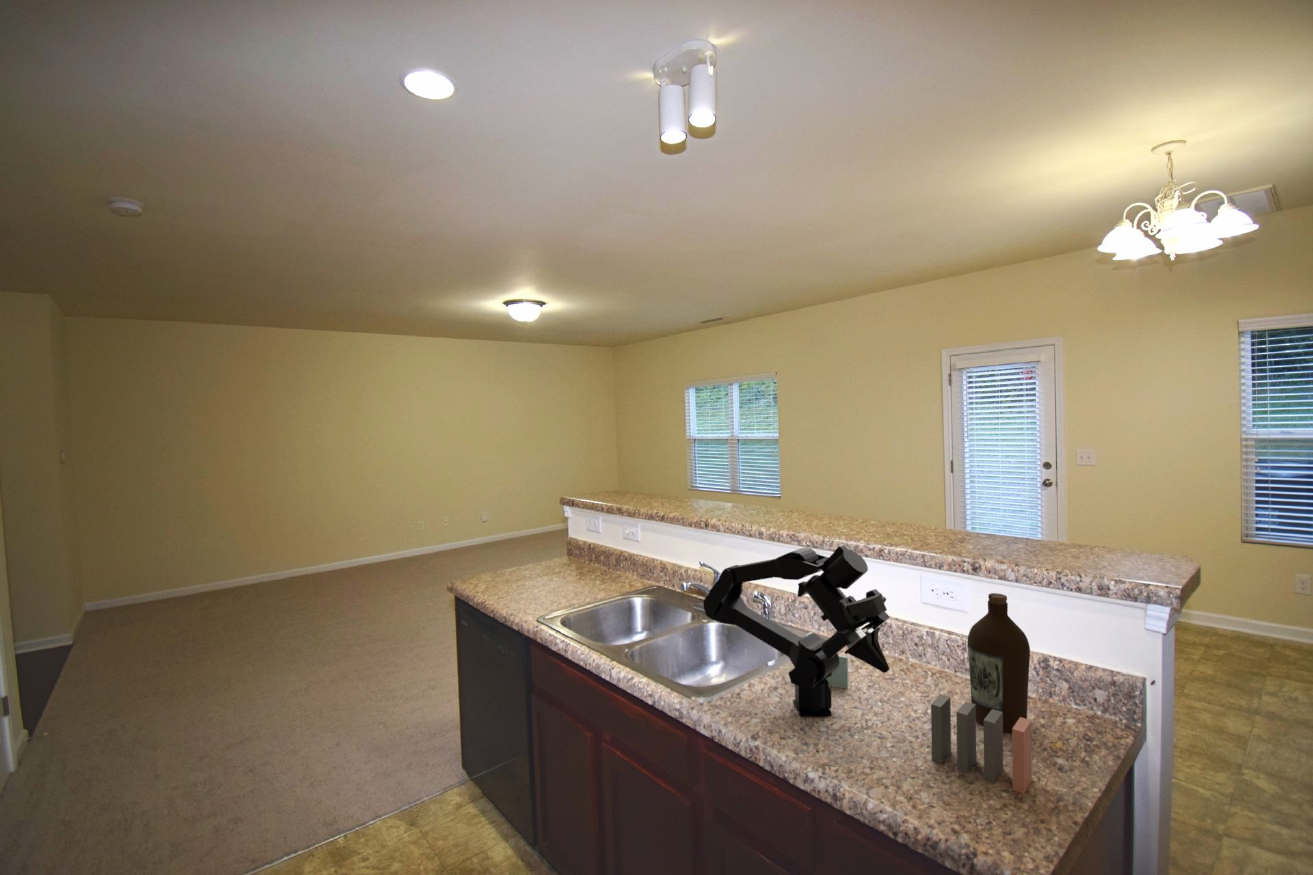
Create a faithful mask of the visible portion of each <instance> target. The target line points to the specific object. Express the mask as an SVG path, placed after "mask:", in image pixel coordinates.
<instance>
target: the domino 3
mask: <svg viewBox="0 0 1313 875" xmlns="http://www.w3.org/2000/svg"><path fill="white" fill-rule="evenodd" d="M1003 771H1004V732H1003V712H1001V711H997V710H994V709H992V710H991V711H990V713H989V714H988V715H987V716H986V718H985V719H984V726H983V777H984V778H983V780H985V781H988V782H990V783H992V784H996V782H997V781H998V780H999V777H1000V776H1001V774H1002V773H1003Z"/></svg>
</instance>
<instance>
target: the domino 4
mask: <svg viewBox="0 0 1313 875" xmlns="http://www.w3.org/2000/svg"><path fill="white" fill-rule="evenodd" d="M1011 735H1012V738H1011V739H1012V740H1011V741H1012V743H1011V744H1012V791H1015V792H1017V793H1020V794H1023V795H1025V794H1026V792H1027V790H1028V788H1029V787H1030V786H1029V785H1030V784H1031V782H1032V779H1033V776H1032V775H1033V774H1032V773H1033V771H1032V770H1033V768H1032V761H1033V760H1032V758H1033V757H1032V720H1031V719H1029V718H1027V719H1025V718H1022V717H1020V718H1019V720H1018V721H1017V723H1016V724H1015V726H1014V727H1013V729H1012V733H1011Z"/></svg>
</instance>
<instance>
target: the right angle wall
mask: <svg viewBox="0 0 1313 875" xmlns="http://www.w3.org/2000/svg"><path fill="white" fill-rule="evenodd" d="M811 633H814V632H813V631H812V632H811V631H809V632H808V633H807V634H806V635H805V636H804V637H806V636H808V635H809V634H811ZM838 656H839V666H838V668H837V669H836V670H834V671H833V672H832V675H831V676H830V677H828V678H826V679H827V681H828V684H829V686H831V687H832V686H833V687H836V688H841V689H846V690H847V689H849V658H848V656H847V655H841V654H838Z"/></svg>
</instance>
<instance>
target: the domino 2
mask: <svg viewBox="0 0 1313 875" xmlns="http://www.w3.org/2000/svg"><path fill="white" fill-rule="evenodd" d="M976 762H977V722H976V704H973V703H971V701H970V702H969V701H965V702H964V703H963V704H962V705H961V706H960V707H959V708H958V710H957V711H956V763H957V764H956V770H957V771H960V772H964V773H966V774H968V773H969V771H970V770H971V769H972V767H973V766H974V764H975V763H976Z"/></svg>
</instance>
